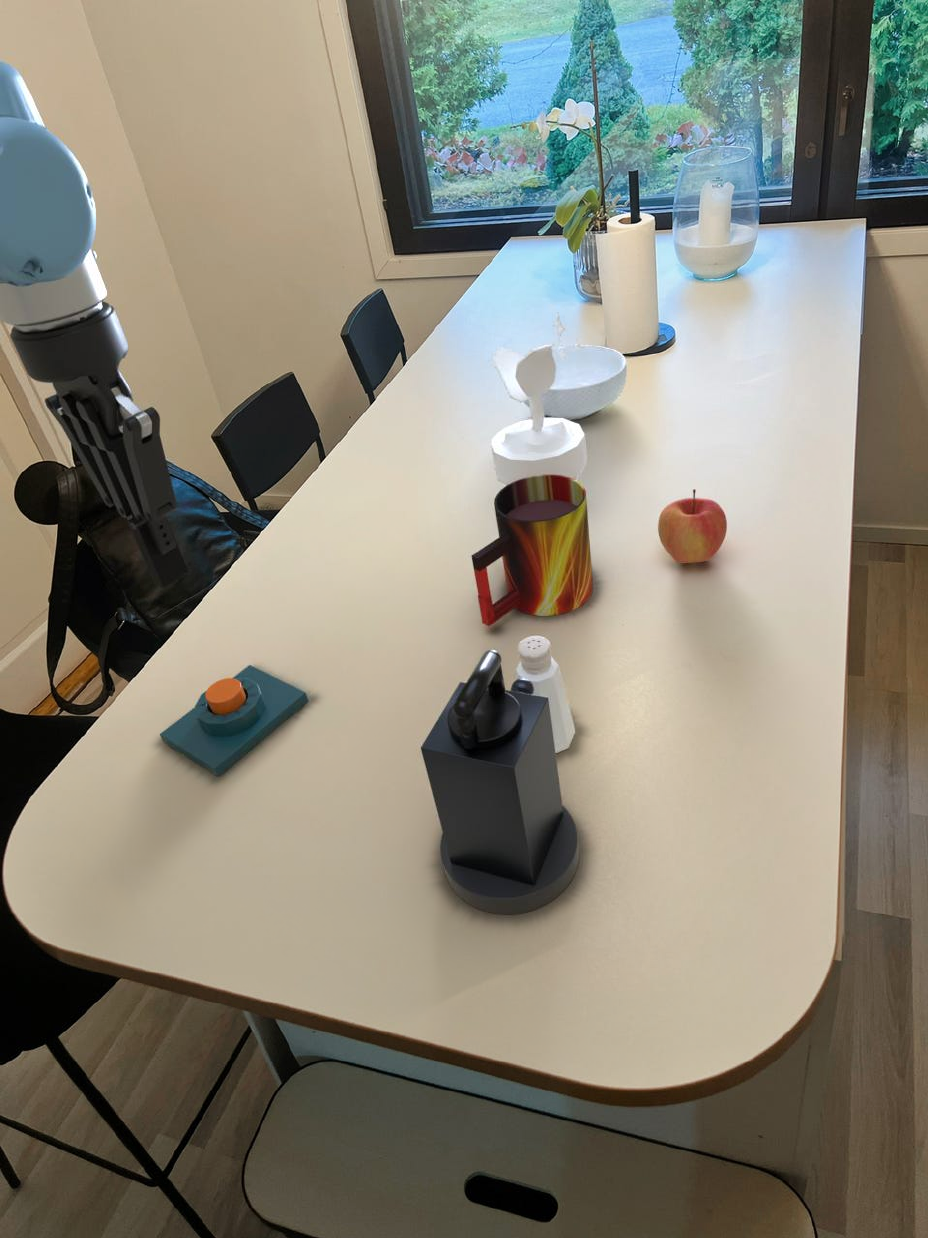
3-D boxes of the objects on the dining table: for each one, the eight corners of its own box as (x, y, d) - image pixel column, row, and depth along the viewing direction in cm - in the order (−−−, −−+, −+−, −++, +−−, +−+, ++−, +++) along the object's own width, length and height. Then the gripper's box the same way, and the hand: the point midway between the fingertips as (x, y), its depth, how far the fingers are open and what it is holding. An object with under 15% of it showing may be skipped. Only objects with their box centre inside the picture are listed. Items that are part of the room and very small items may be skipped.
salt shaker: (516, 718, 83) (501, 628, 76) (573, 712, 82) (563, 621, 76) (518, 760, 79) (502, 668, 72) (578, 754, 78) (568, 661, 71)
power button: (226, 720, 85) (220, 707, 84) (203, 707, 87) (197, 695, 86) (253, 698, 87) (248, 685, 86) (231, 686, 89) (225, 673, 88)
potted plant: (607, 511, 110) (594, 312, 94) (523, 540, 107) (497, 342, 92) (561, 472, 119) (543, 286, 104) (483, 498, 117) (453, 312, 102)
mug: (482, 634, 94) (465, 541, 86) (522, 561, 103) (510, 472, 96) (569, 645, 90) (559, 548, 83) (602, 568, 100) (596, 476, 93)
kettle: (534, 885, 66) (505, 720, 55) (450, 863, 68) (408, 701, 58) (578, 778, 73) (560, 615, 63) (501, 762, 76) (472, 603, 65)
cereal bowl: (638, 423, 127) (636, 377, 123) (525, 441, 128) (519, 396, 124) (617, 378, 141) (615, 335, 136) (515, 395, 142) (509, 353, 137)
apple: (656, 576, 97) (655, 515, 92) (661, 540, 103) (659, 480, 98) (725, 577, 95) (727, 514, 90) (726, 540, 101) (728, 479, 96)
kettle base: (491, 941, 65) (487, 925, 64) (420, 845, 73) (415, 830, 72) (607, 865, 68) (606, 849, 67) (528, 782, 76) (525, 766, 75)
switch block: (218, 777, 83) (207, 755, 81) (163, 742, 88) (152, 721, 86) (308, 700, 90) (301, 679, 88) (253, 672, 95) (244, 651, 93)
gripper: (152, 303, 62) (249, 575, 76) (59, 290, 69) (163, 540, 83) (59, 341, 58) (181, 622, 72) (-30, 323, 65) (96, 581, 79)
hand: (171, 577), depth 78 cm, fingers closed
